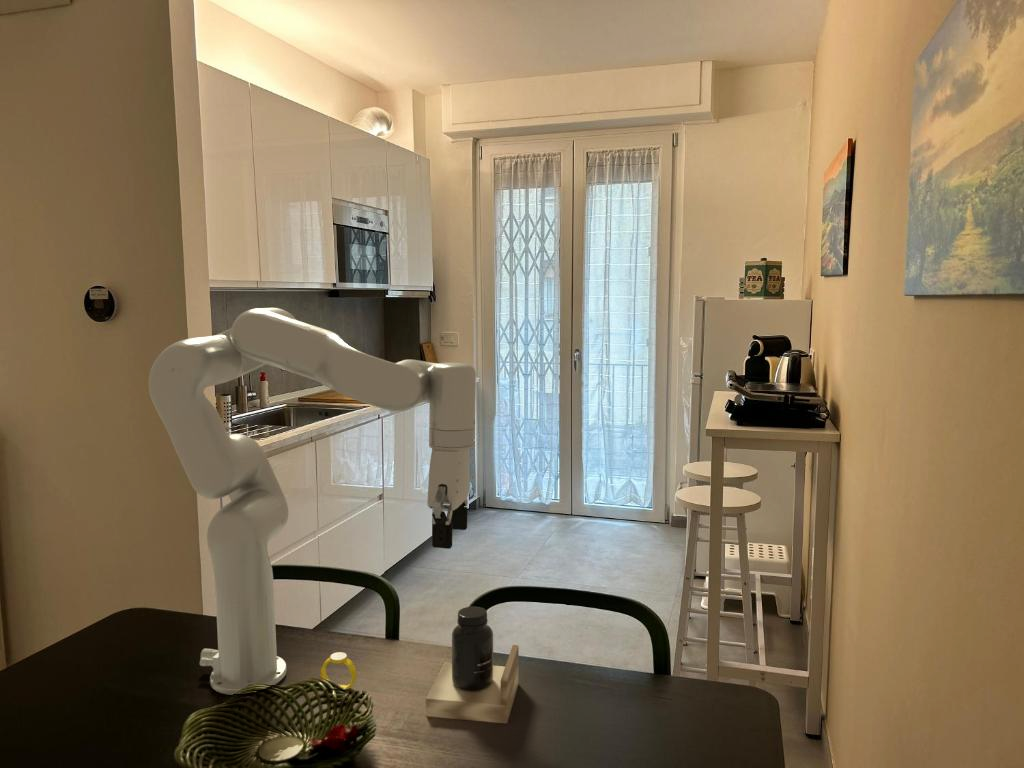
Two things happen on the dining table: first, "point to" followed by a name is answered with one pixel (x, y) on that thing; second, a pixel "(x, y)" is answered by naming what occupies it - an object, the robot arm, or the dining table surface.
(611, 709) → the dining table surface
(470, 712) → the birch stand
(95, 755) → the dining table surface
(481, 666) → the supplement bottle
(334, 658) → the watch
